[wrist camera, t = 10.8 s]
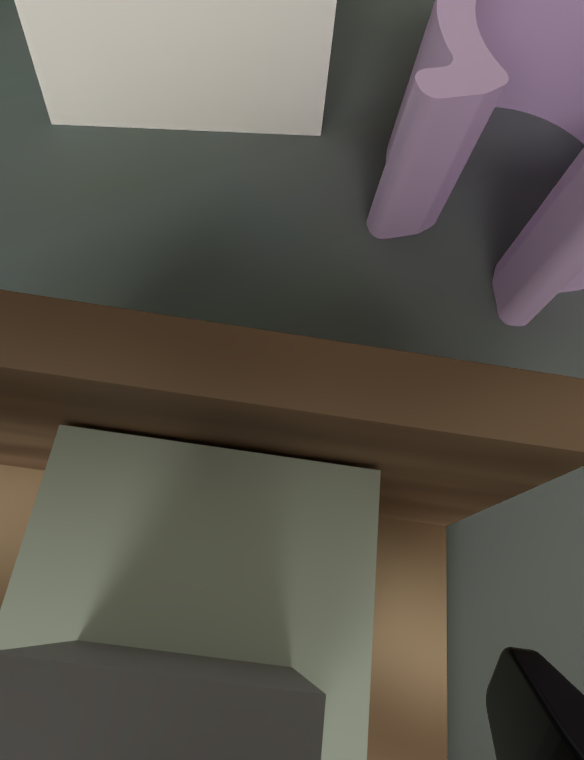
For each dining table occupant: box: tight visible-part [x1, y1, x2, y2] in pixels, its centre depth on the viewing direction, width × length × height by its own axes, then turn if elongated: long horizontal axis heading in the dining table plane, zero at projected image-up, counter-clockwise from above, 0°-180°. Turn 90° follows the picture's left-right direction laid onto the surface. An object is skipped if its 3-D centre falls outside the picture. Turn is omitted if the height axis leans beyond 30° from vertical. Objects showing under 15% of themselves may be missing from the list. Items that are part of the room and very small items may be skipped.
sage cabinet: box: [0, 425, 381, 760], centre depth 11 cm, size 6×7×10 cm
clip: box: [366, 0, 584, 326], centre depth 23 cm, size 20×12×7 cm, turn 142°
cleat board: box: [0, 290, 584, 760], centre depth 11 cm, size 13×14×9 cm
